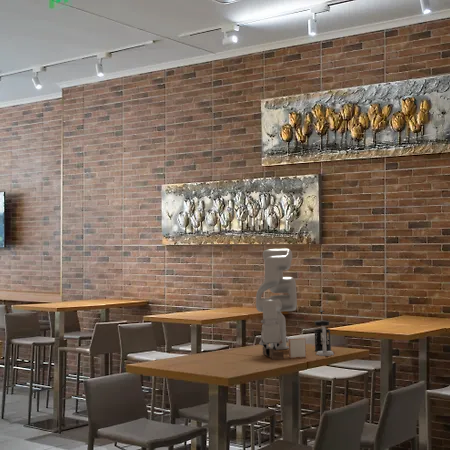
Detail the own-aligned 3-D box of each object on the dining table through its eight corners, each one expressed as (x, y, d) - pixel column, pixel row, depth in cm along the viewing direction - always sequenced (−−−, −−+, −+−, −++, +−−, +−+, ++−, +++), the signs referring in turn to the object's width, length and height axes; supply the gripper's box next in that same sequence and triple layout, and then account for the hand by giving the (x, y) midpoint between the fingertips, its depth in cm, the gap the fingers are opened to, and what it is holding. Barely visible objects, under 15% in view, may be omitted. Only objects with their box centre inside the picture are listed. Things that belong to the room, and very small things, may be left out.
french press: (319, 349, 435) (317, 309, 436) (334, 350, 430) (332, 310, 431) (310, 351, 425) (309, 311, 426) (326, 352, 420) (324, 311, 421)
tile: (289, 357, 403) (288, 339, 404) (304, 356, 406) (304, 338, 406) (290, 358, 401) (289, 339, 402) (306, 357, 404) (305, 338, 404)
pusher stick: (260, 353, 419) (260, 346, 419) (270, 353, 421) (270, 346, 421) (272, 360, 397) (272, 352, 397) (283, 359, 398) (283, 352, 398)
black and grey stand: (314, 356, 407) (313, 328, 408) (317, 353, 417) (316, 326, 417) (332, 356, 405) (331, 328, 405) (335, 353, 414) (334, 326, 415)
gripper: (257, 323, 405) (259, 357, 404) (286, 321, 409) (287, 355, 408) (254, 322, 412) (255, 355, 411) (282, 320, 416) (283, 354, 415)
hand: (271, 355), depth 409 cm, fingers closed on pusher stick, 2 cm apart
